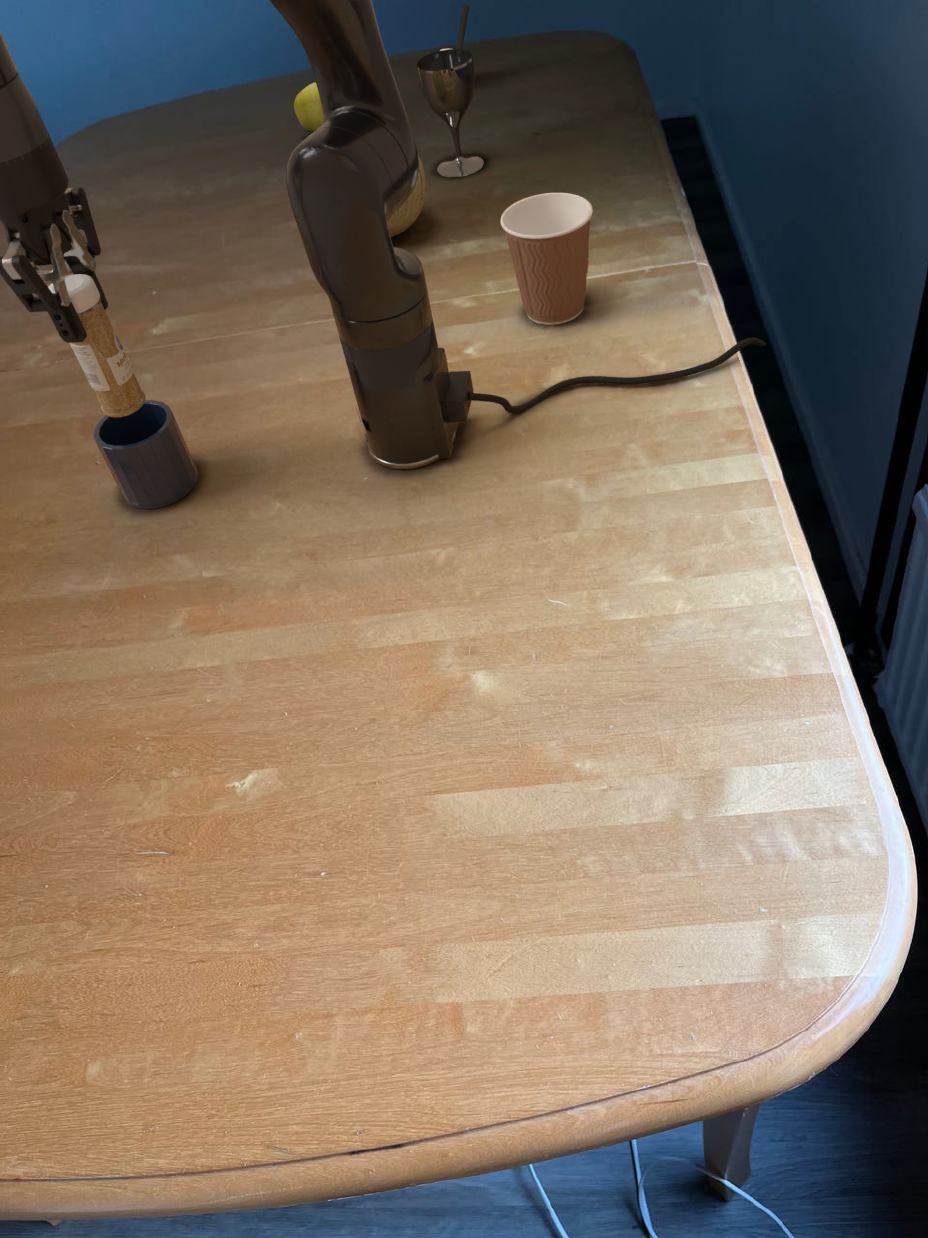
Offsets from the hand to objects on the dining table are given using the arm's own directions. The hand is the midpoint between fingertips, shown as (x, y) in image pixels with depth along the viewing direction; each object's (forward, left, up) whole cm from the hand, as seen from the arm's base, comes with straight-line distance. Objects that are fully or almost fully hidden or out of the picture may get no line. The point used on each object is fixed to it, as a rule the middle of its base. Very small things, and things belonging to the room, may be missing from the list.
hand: (87, 324), depth 96 cm
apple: (+3, -90, -20) cm, 92 cm away
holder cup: (0, 0, -20) cm, 20 cm away
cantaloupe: (-14, -53, -20) cm, 58 cm away
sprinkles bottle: (0, 0, -10) cm, 10 cm away
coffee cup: (-40, -31, -20) cm, 54 cm away
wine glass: (-22, -73, -20) cm, 79 cm away
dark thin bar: (-16, -104, -20) cm, 107 cm away
